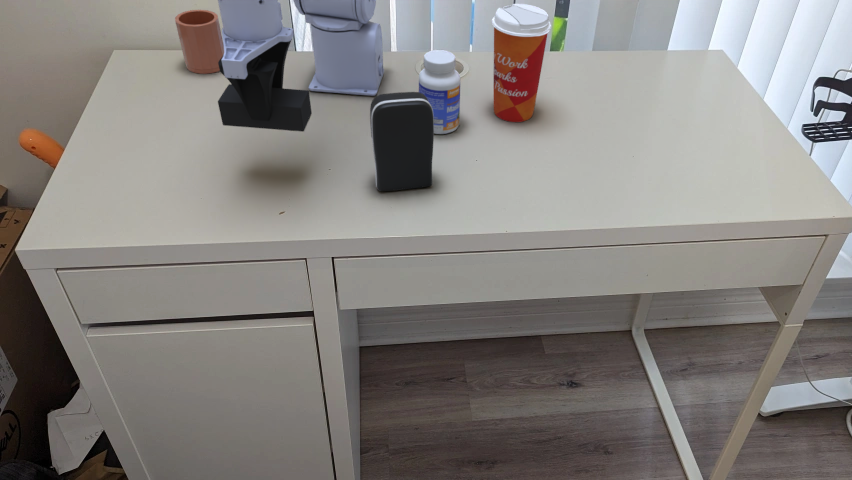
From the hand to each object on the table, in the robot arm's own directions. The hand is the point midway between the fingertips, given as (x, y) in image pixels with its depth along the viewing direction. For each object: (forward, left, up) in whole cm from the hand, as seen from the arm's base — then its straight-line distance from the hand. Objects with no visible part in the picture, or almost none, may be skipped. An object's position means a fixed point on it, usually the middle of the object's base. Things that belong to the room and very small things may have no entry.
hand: (266, 108), depth 81 cm
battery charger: (-15, 0, -9) cm, 17 cm away
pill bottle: (-18, -14, -9) cm, 25 cm away
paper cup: (-28, -19, -9) cm, 35 cm away
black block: (0, 0, -1) cm, 1 cm away
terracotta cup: (+17, -26, -9) cm, 32 cm away
